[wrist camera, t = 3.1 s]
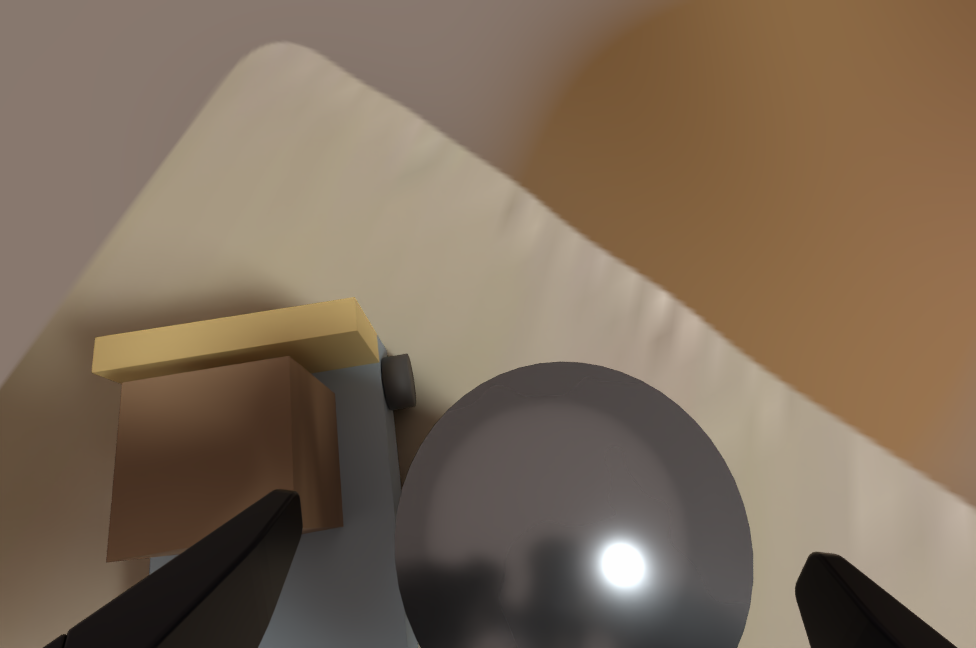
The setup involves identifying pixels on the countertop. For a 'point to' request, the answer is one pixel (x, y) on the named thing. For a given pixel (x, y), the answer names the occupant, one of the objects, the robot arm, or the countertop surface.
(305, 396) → the collected block
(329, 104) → the countertop surface
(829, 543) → the countertop surface
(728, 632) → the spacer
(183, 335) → the cart
